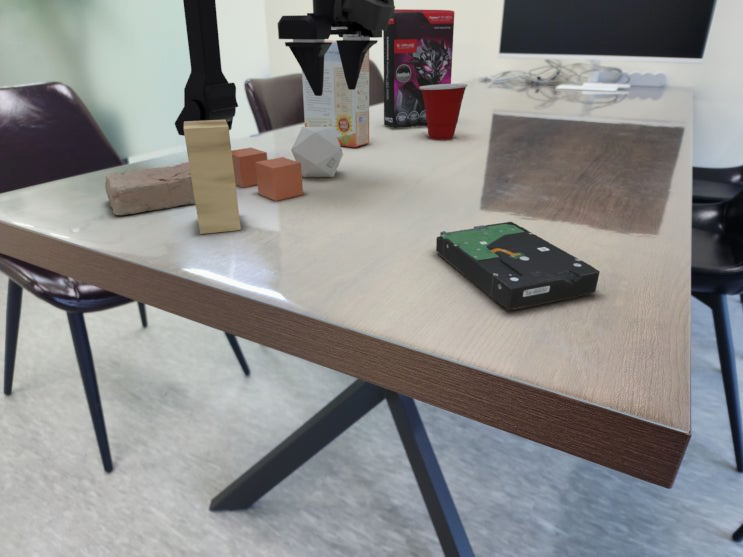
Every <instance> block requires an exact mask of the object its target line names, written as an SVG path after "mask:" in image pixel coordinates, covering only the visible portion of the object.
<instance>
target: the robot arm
mask: <svg viewBox="0 0 743 557" xmlns="http://www.w3.org/2000/svg"><path fill="white" fill-rule="evenodd" d="M182 2H183V12H184V19H185V29H186V37H187V47H188V54H189V63H190V74H189V76H188V78H187V80H186V84H185V86H184V89H183V91H184V92H183V102H184V103H183V108H182V109H181V110H180V113H179V115H178V116H177V118H176V120H175V122H174V126H175V129H176V131H177V134H178V136H184V137H185V135H184V122H185V121H206V120H226V122H227V124H228V127H229V131H231V130H232V128H233V121H234V117H235V116H236V110H237V109H236V108H238V107H239V105H238V101H237V86H236V83H235V82H229V81H228V79H227V78H226V76H225V74H224V72H223V68H222V60H221V48H220V36H219V26H218V25H219V24H218V15H217V4H216V3H217V2H216V0H182ZM394 9H396V6H395V0H312V12H306V14H304V15H302V14H301V15H300V14H299V15H296V14H295V15H281V17H280V18H279V20H278V22H277V37H278V40H292V41H284V46H285V47H287V48H289V50H290V52H291V53H292V55H293V57H294V58H295V60H296V61H297V63H298V65H299V67H300V69H301V72H302V71H303V73H304V75H305V77H306V79H307V81H308V83H309V85H310V87H311V89H312V91H313V93H314V95H315V96H322V93H323V79H324V56H325V54H326V52H327V51H328V49H329V48H330V46H331V45H332V42H325V40H329V39H330V36H338V37H339V38H342V39H337V40H336V39H335V41H336V42H337V46H338V50H339V54H340V59H341V63H342V67H343V71H344V75H345V80H346V83H347V86H348V89H349V90H355V88H356V85H357V81H358V78H359V74H360V70H361V67H362V63H363V60H364V57H365V54H366V52H367V51H368V50H369V51H370V49H371V48H372V47H373V46H374V45H377V44H378V41H379V40H378V39H377V38H379V39H380V38H383V31H386V29H387V26H388V23H389V20H390V19H394V18H395V15H396V14H395V12H394ZM372 38H373V40H372ZM374 38H375V40H374Z"/></svg>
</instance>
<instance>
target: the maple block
mask: <svg viewBox="0 0 743 557" xmlns="http://www.w3.org/2000/svg"><path fill="white" fill-rule="evenodd" d="M184 135H185V136H184V141H185V147H186V153H187V159H188V160H187V161H188V162H189V166H190V172H191V179H192V185H193V191H194V198H195V204H194V205H195V210H196V215H197V216H196V217H197V222H198V228H199V234H200V235H207V234H217V233H226V232H234V231H235V232H236V231H241V230H242V227H241V226H242V225H241V219H240V211H239V202H238V194H237V193H238V192H237V185H235V176H234V168H233V160H232V152H231V151H232V144H231V136H230V130H229V127H228V124H227V122H226V120H206V121H185V122H184Z"/></svg>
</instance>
